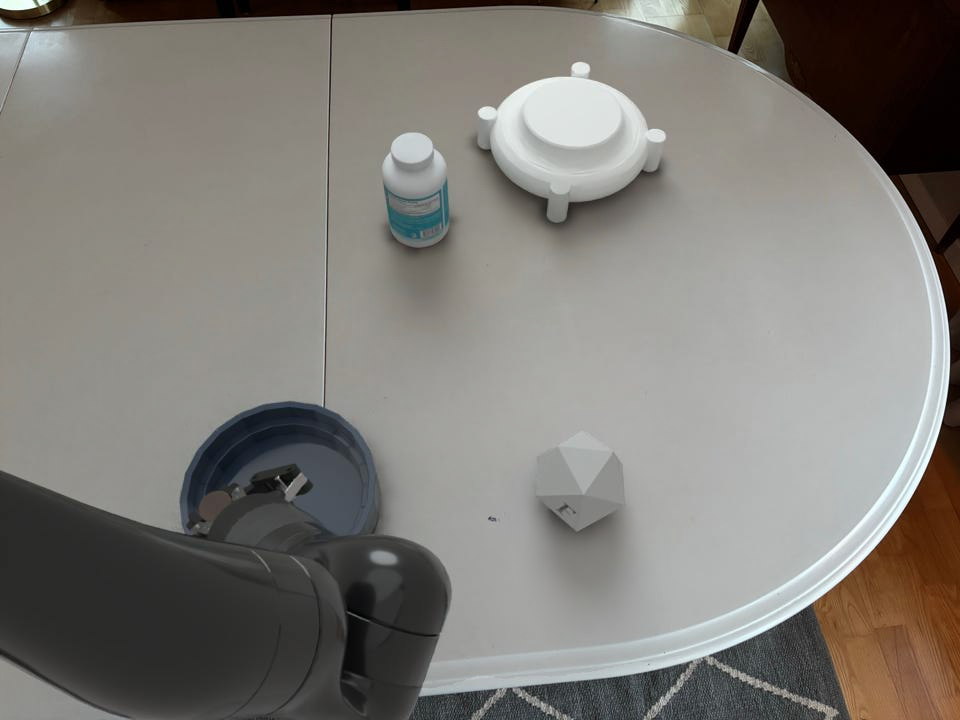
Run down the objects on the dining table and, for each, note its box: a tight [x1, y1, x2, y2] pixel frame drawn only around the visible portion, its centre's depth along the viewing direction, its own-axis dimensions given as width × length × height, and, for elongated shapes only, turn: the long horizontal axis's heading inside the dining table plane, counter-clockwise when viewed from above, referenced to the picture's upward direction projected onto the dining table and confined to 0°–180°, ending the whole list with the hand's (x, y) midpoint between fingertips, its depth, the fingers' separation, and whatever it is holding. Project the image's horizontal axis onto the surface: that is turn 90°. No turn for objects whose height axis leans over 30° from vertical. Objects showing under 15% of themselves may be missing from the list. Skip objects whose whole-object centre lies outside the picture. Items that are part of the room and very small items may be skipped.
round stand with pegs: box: [477, 61, 667, 224], centre depth 102 cm, size 24×24×7 cm
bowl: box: [179, 400, 382, 536], centre depth 78 cm, size 18×19×5 cm
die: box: [534, 430, 626, 532], centre depth 77 cm, size 8×9×10 cm
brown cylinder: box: [199, 491, 232, 522], centre depth 71 cm, size 3×3×10 cm
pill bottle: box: [381, 132, 450, 249], centre depth 92 cm, size 8×7×14 cm
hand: (213, 507), depth 71 cm, fingers closed on brown cylinder, 3 cm apart
